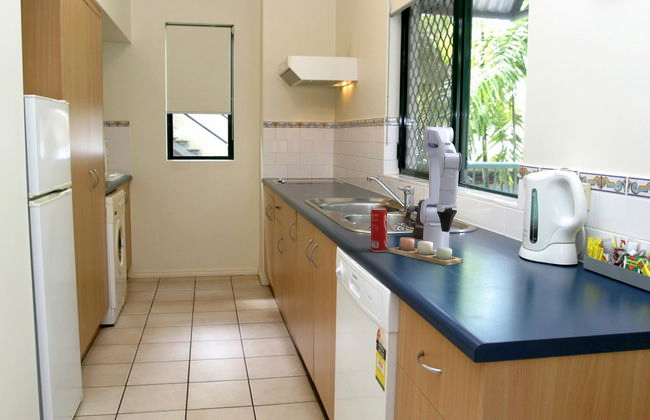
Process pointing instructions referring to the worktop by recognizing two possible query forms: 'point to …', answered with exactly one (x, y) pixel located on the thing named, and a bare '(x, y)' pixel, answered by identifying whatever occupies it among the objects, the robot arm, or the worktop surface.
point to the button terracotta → (407, 243)
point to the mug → (418, 224)
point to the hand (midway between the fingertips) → (445, 231)
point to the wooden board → (425, 256)
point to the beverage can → (378, 229)
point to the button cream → (425, 247)
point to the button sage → (444, 253)
